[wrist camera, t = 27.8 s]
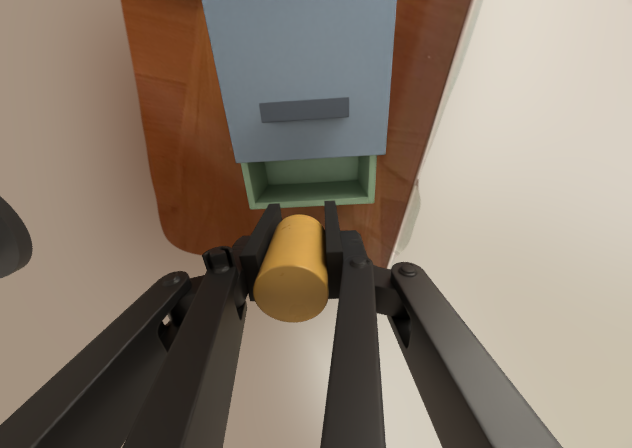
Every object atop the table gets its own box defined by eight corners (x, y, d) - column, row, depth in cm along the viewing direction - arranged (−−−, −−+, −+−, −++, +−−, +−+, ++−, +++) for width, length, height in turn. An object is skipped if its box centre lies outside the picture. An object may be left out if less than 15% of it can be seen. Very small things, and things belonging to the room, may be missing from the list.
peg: (288, 265, 15) (275, 330, 10) (265, 225, 14) (237, 280, 9) (333, 249, 14) (339, 311, 10) (313, 205, 13) (309, 254, 9)
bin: (264, 189, 36) (249, 209, 29) (247, 82, 30) (221, 72, 22) (362, 183, 36) (374, 203, 28) (365, 73, 29) (382, 59, 22)
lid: (238, 161, 26) (225, 169, 23) (199, -25, 19) (173, -55, 16) (383, 153, 25) (393, 159, 22) (397, -44, 19) (414, -79, 15)
